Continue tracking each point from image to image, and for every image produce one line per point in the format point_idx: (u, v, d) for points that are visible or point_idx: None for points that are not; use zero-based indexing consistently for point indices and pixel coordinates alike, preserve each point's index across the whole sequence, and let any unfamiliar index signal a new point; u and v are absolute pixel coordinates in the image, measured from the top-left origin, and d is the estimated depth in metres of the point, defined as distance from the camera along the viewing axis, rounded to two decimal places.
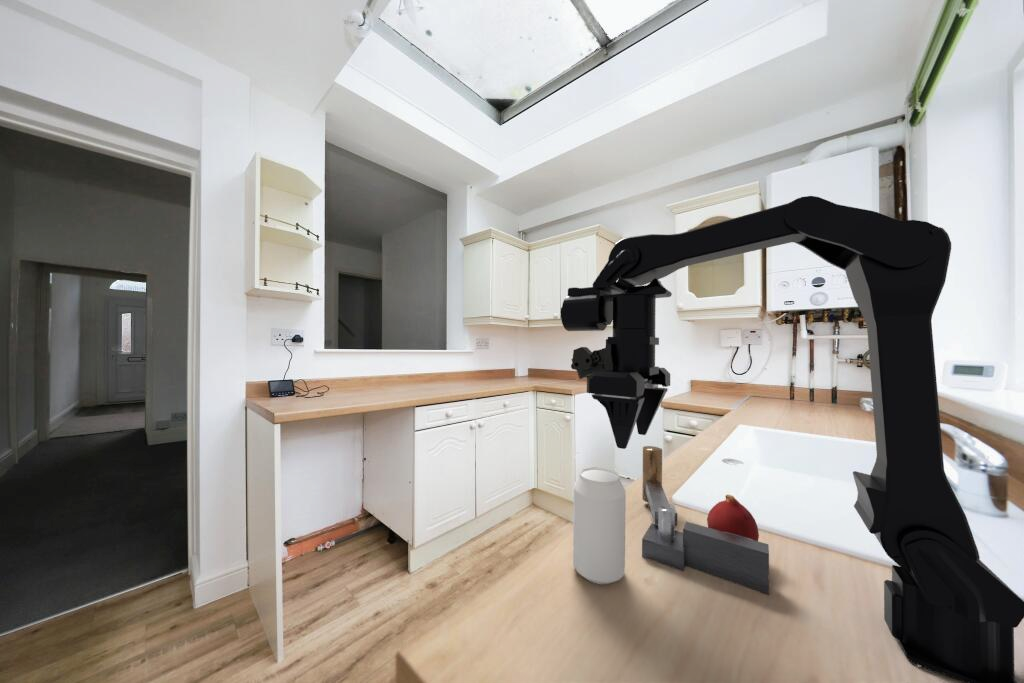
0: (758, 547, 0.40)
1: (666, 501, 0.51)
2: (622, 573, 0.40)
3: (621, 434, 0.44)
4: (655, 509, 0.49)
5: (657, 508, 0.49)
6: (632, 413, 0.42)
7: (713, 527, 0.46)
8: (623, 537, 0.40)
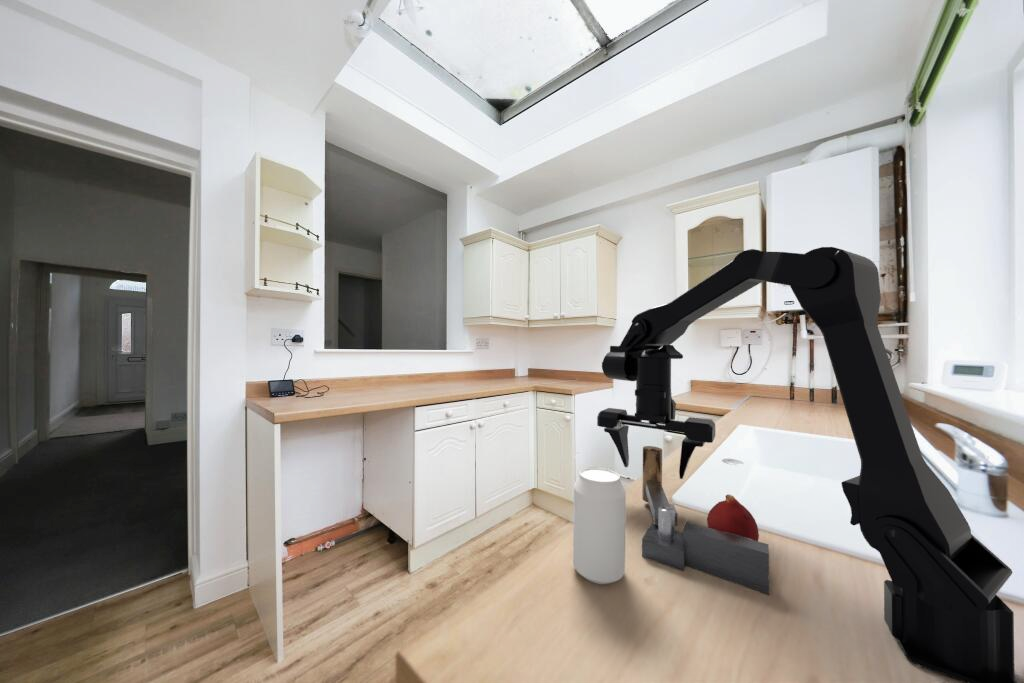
0: (758, 547, 0.40)
1: (666, 501, 0.51)
2: (622, 573, 0.40)
3: None
4: (655, 509, 0.49)
5: (657, 508, 0.49)
6: None
7: (713, 527, 0.46)
8: (623, 537, 0.40)
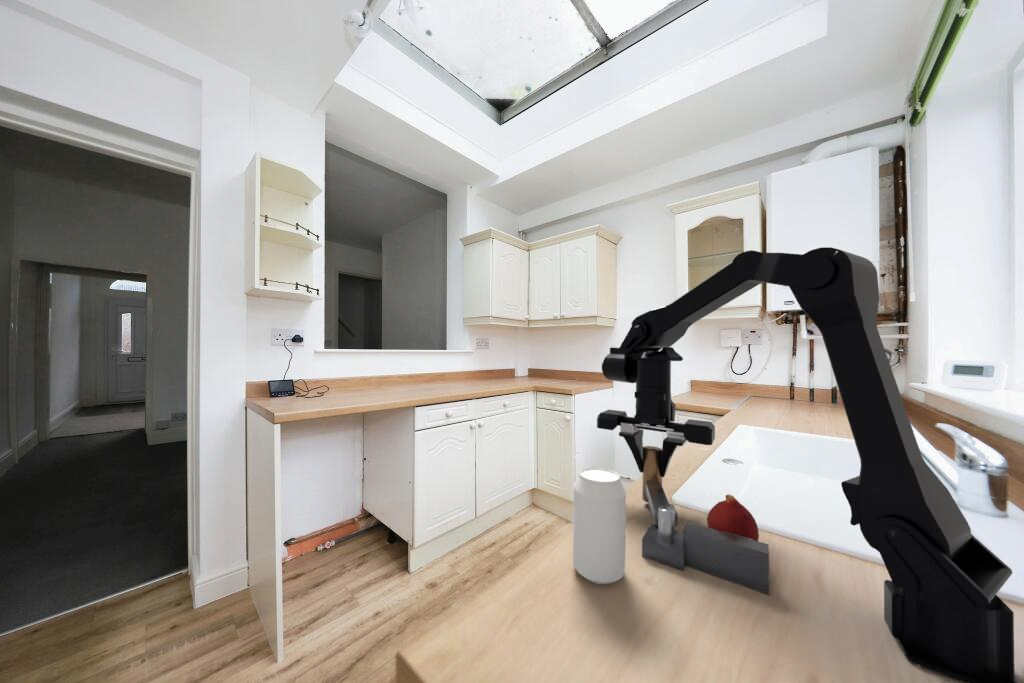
0: (758, 547, 0.40)
1: (666, 501, 0.51)
2: (622, 573, 0.40)
3: None
4: (655, 509, 0.49)
5: (657, 508, 0.49)
6: None
7: (713, 527, 0.46)
8: (623, 537, 0.40)
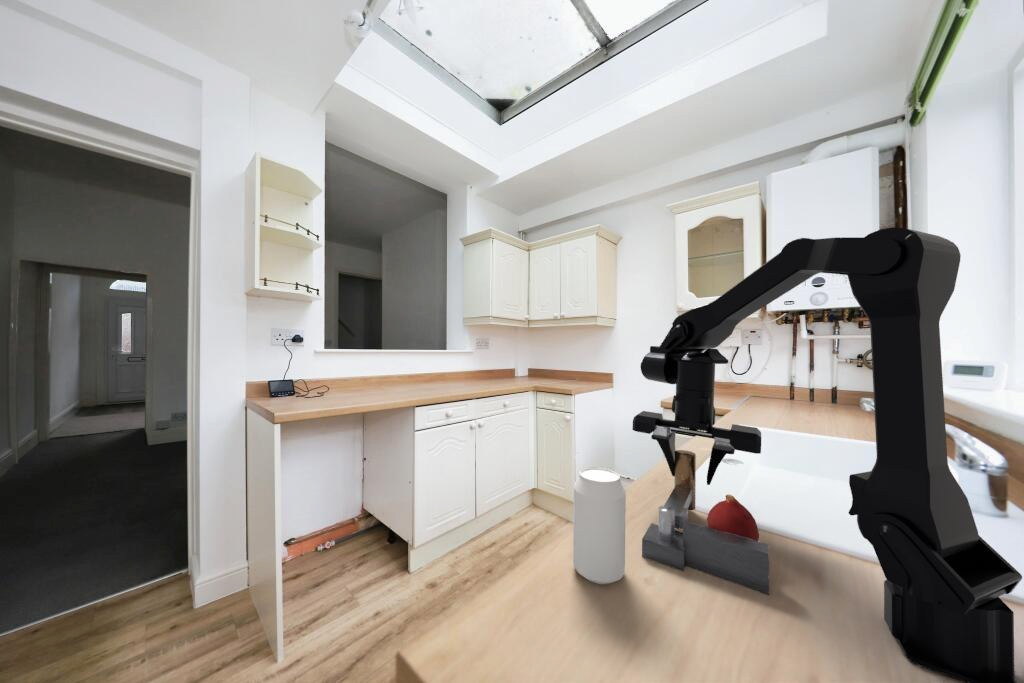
0: (758, 547, 0.40)
1: (681, 505, 0.50)
2: (622, 573, 0.40)
3: None
4: None
5: None
6: None
7: (713, 527, 0.46)
8: (623, 537, 0.40)
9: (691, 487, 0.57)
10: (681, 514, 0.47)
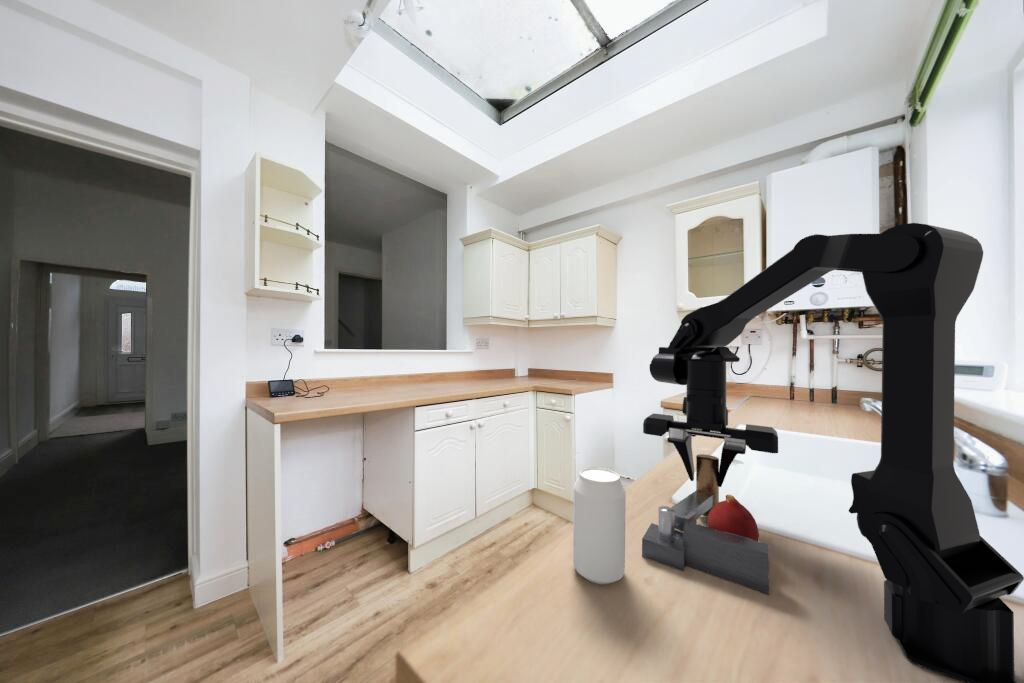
0: (758, 547, 0.40)
1: (691, 508, 0.49)
2: (622, 573, 0.40)
3: None
4: None
5: None
6: None
7: (713, 527, 0.46)
8: (623, 537, 0.40)
9: (712, 493, 0.54)
10: (685, 517, 0.47)
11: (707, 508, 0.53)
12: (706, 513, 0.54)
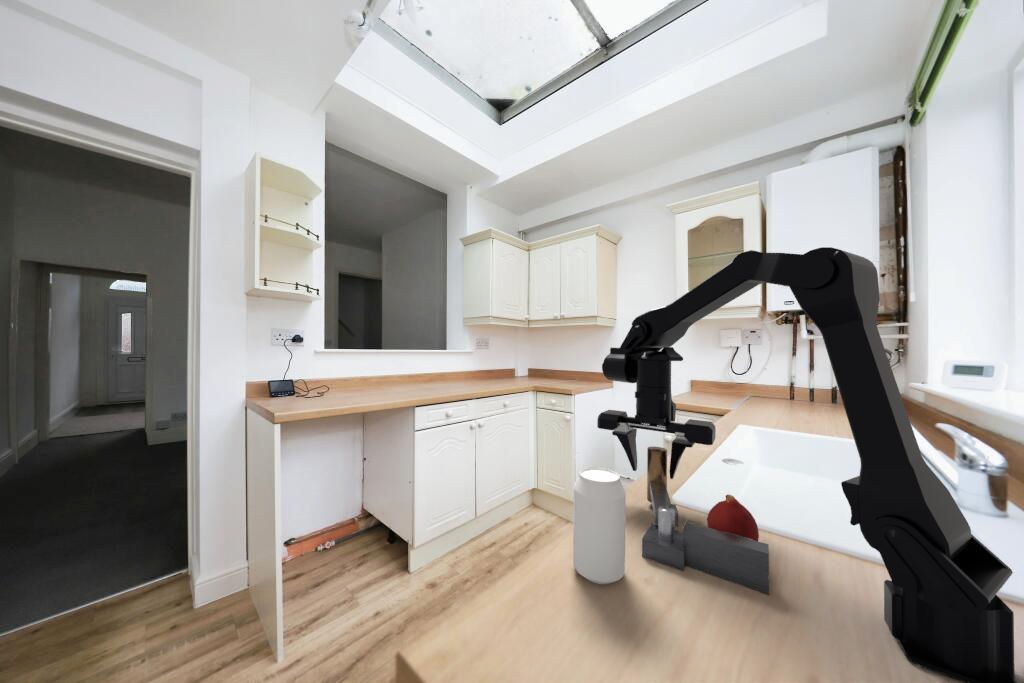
0: (758, 547, 0.40)
1: (668, 502, 0.51)
2: (622, 573, 0.40)
3: None
4: (656, 509, 0.49)
5: (658, 508, 0.49)
6: None
7: (713, 527, 0.46)
8: (623, 537, 0.40)
9: (664, 482, 0.59)
10: None
11: None
12: None
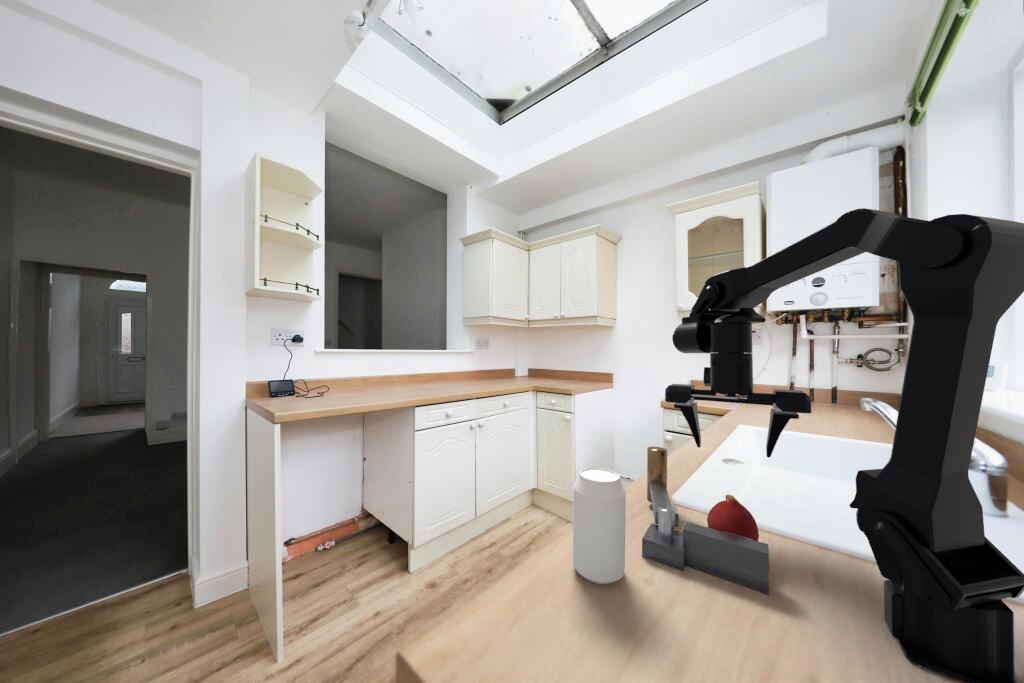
0: (758, 547, 0.40)
1: (668, 502, 0.51)
2: (622, 573, 0.40)
3: None
4: (656, 509, 0.49)
5: (658, 508, 0.49)
6: None
7: (713, 527, 0.46)
8: (623, 537, 0.40)
9: (664, 482, 0.59)
10: None
11: None
12: None
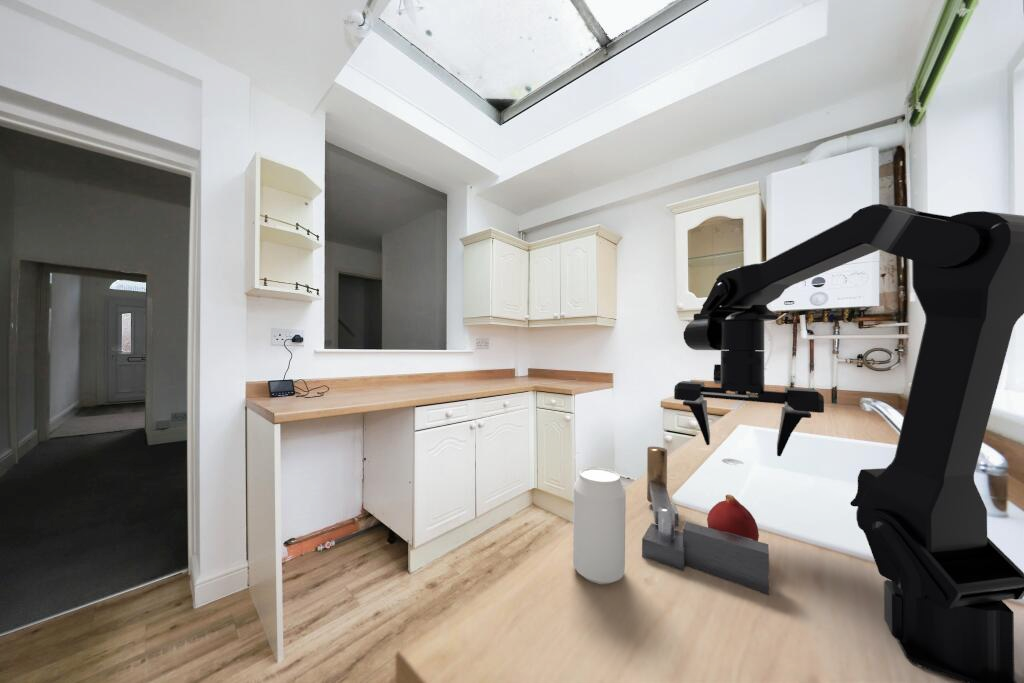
0: (758, 547, 0.40)
1: (668, 502, 0.51)
2: (622, 573, 0.40)
3: None
4: (656, 509, 0.49)
5: (658, 508, 0.49)
6: None
7: (713, 527, 0.46)
8: (623, 537, 0.40)
9: (664, 482, 0.59)
10: None
11: None
12: None
